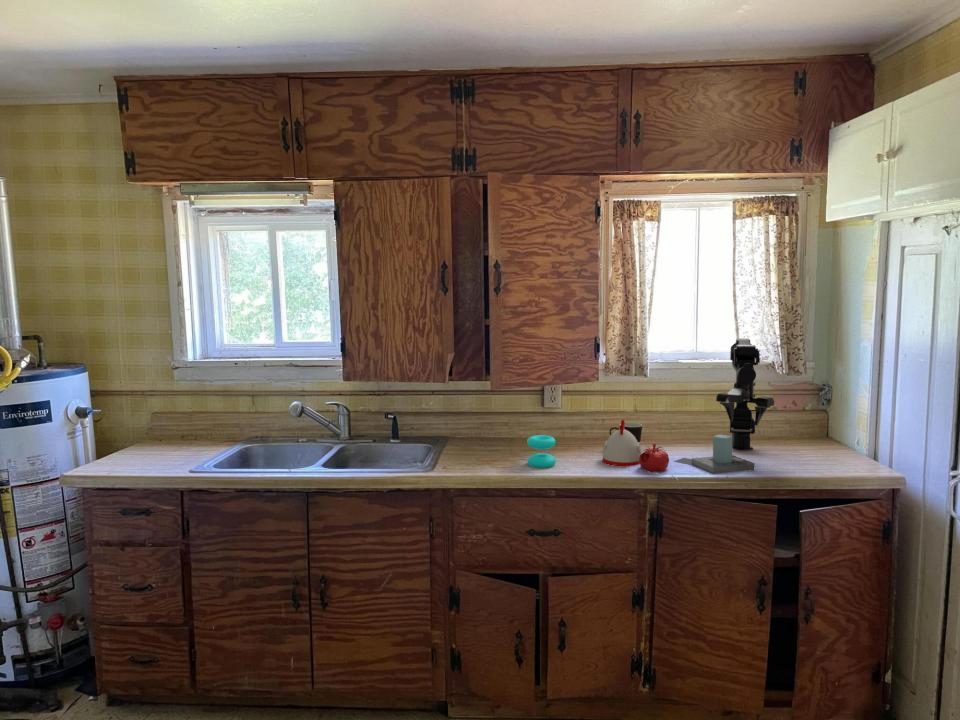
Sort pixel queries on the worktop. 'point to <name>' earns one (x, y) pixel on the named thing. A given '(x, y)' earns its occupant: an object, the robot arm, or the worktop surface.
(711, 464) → the plate
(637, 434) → the coffee mug
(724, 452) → the block
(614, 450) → the kitchen timer
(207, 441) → the worktop surface
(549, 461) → the donuts
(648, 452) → the pomegranate
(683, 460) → the mat
